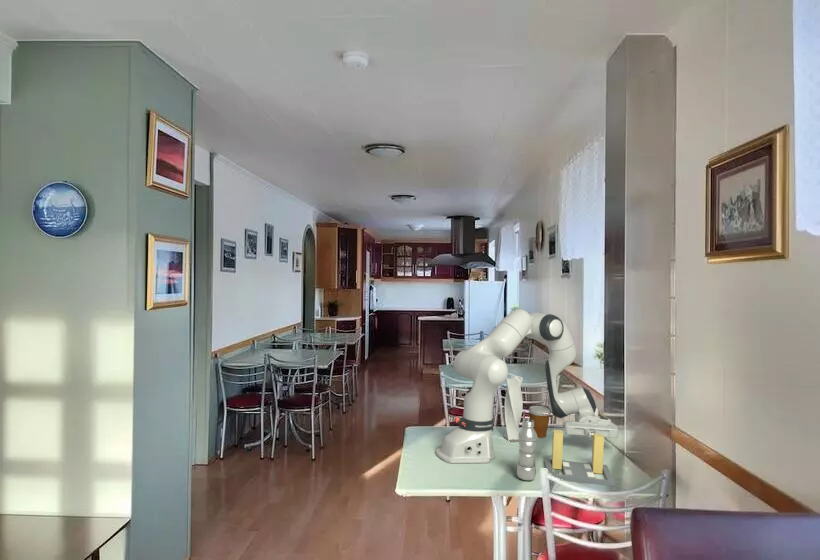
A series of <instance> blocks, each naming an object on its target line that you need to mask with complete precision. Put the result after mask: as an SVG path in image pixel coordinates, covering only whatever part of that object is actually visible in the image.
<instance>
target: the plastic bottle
mask: <svg viewBox="0 0 820 560" xmlns="http://www.w3.org/2000/svg"><path fill="white" fill-rule="evenodd" d="M522 421H523V426H524V427H523V428H522V427H521V429H520V431H518V432H519V435H518V438H519V442H518V447H519V448H518V449H519V452H518V453H519V455H518V463H517V466H516V467H517V468H516V475H517V477H518V478H519V479H520V480H523V481H533V480H534V479H535V478H536V477H537V476H536V475H537V467H536V450H537V449H536V448H537V444H538V443H537V442H538V437H537V434H536V432H535V430H534V428H533V427H534V421H533V420H530V418H527V419H526V418H525V420H523V419H522Z"/></svg>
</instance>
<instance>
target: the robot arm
mask: <svg viewBox="0 0 820 560" xmlns="http://www.w3.org/2000/svg"><path fill="white" fill-rule="evenodd" d="M524 338H526V339H531V340H536V341H545V343H546V345H547V349H548V354H549V355H548V359H547V360H546V361H545V365H544V367H545V368H544V369H545V370H544V371H545V377H546V384H547V391H548V406H549V407H548V408H549V409H550V412H551V413H550V414H552V416H554V417H556V418H559V419H563V418H565V417H568V416H571V415H574V421H572V420H568V421H567V420H566V421H565V422H564V423H562V427H563V428H564V434H566V435H570V436H571V435H572V436H573V435H574V436H584V437H586V438H590V439H593V433H596V434H602V435H603V436H604V438H611V439H612V438H613V439H617V438H618V437H619V428H618V426H617V425H616V424H615V423H613V422H612V419H610V418H606V417H601V416H598V415H596V410H597V404H596V400H595V399H594V396H593V395H592V393H591V391H590V390H589V389H587V388H586V387H583V386H582V387H577V388H575V389H571V390H568V391H563V392H559V390H558V382H557V377H558V376H559V374H560V373H561V372H562V371H564V370H565V369H566V368H568V367H569V366H570V365H571V364H573V362H574V361H575V360H576V358H577V354H578V352H577V351H578V350H577V346H576V342H575V340H574V336H573V334H572V332H571V330H570V328H569V326H568V325H567V323H566V322H565V321H564V320H562V319H561V318H560V317H558V316H557V315H554V314H552V313H550V314H549V313H547V314H546V313H541V312H528V311H526V310H525V309H522V308H516V309H514V310H512V311H511V312H510V313H508V314H507V315H506V316H504V317H503V319H502V320H501V321H500V322H499V323H497V325H496V327H494V329H493V330H491V332H490V333H489V334H488V335H487V336H486V337H485V338H483V339H482V340H481V341H479V342H477V343H476V344H474V345H473V346H471V347H470V348H468V349H465V350H461V351H459V352H457V354H456V355H455V357H454V360H453V367H454V370H455V371H456V373H458V374H459V375H460V376H462V377H463V378H465V379H468V380H471V381H472V387H471V388H470V389H471V391H470V392H469V393H467V392H466V393H467V394H465V395H464V397H463V412H462V413H463V414H462V417H461V418H459V416H455V417H453V418H454V419H453V420H454V423H456V424H458V426H457V427H455V428H454V429H453V430H452V431H450V432H449V433H448V434H447V435H445V437H443V440H442V445H441V447H440V448H439V447H438V448H436V450H435V454H436V456H437V457H438V458H440V459H441V461H444V462H446V463H450V464H482V463H483V464H488V463H490V462H491V460H493V459H494V458H496V453H495V450H494V441H493V432H494V418H493V411H494V400H495V395H496V393H497V391H498V388H499V387H500V386H501V385H503V384H504V383H505V382H506V381H507V379H506V378H508V375H509V374H508V373H509V368H508V365H507V363H506V362H505V361H504V360H503V359H504V358H507V357H508V356H510V355H511V354H512V353H513V352H514V350H515V349H516V348H517V347H518V346H519V345H520V344H521V342H522V341H523V340H524Z"/></svg>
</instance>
